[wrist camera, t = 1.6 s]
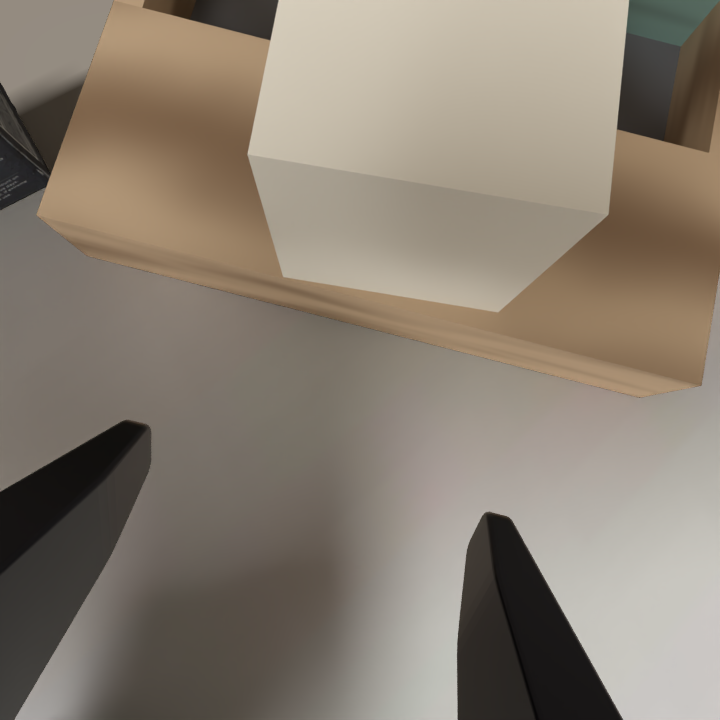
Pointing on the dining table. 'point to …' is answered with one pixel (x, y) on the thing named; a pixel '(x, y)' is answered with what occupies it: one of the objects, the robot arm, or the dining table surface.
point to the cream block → (437, 141)
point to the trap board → (383, 311)
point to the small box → (17, 157)
